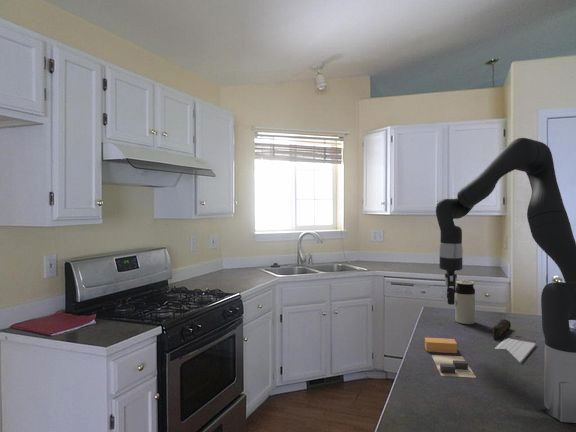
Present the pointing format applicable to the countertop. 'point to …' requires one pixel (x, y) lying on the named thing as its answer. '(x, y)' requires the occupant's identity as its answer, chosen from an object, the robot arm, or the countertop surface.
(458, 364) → the charcoal stick
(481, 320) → the countertop surface
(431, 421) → the countertop surface
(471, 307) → the travel mug
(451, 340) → the block
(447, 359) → the plywood board
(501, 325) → the brown pointed piece
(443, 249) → the robot arm
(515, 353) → the baseboard
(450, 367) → the charcoal stick
